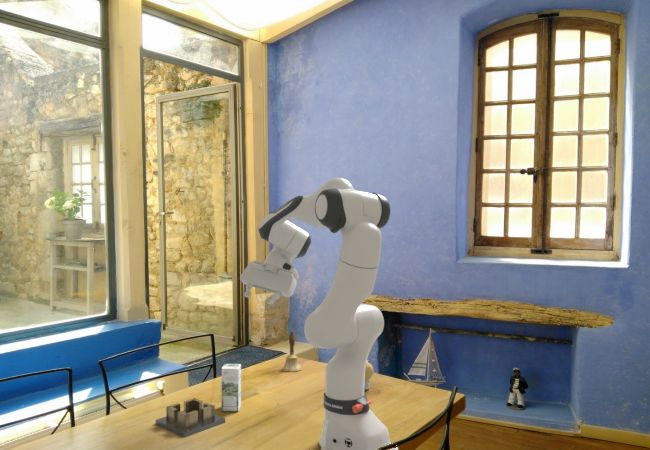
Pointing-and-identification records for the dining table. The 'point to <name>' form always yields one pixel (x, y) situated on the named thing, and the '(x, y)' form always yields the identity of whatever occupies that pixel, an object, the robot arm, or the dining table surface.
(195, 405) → the metal jaw fixture
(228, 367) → the syrup box
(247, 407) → the dining table surface
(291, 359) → the hand bell
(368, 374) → the light bulb
